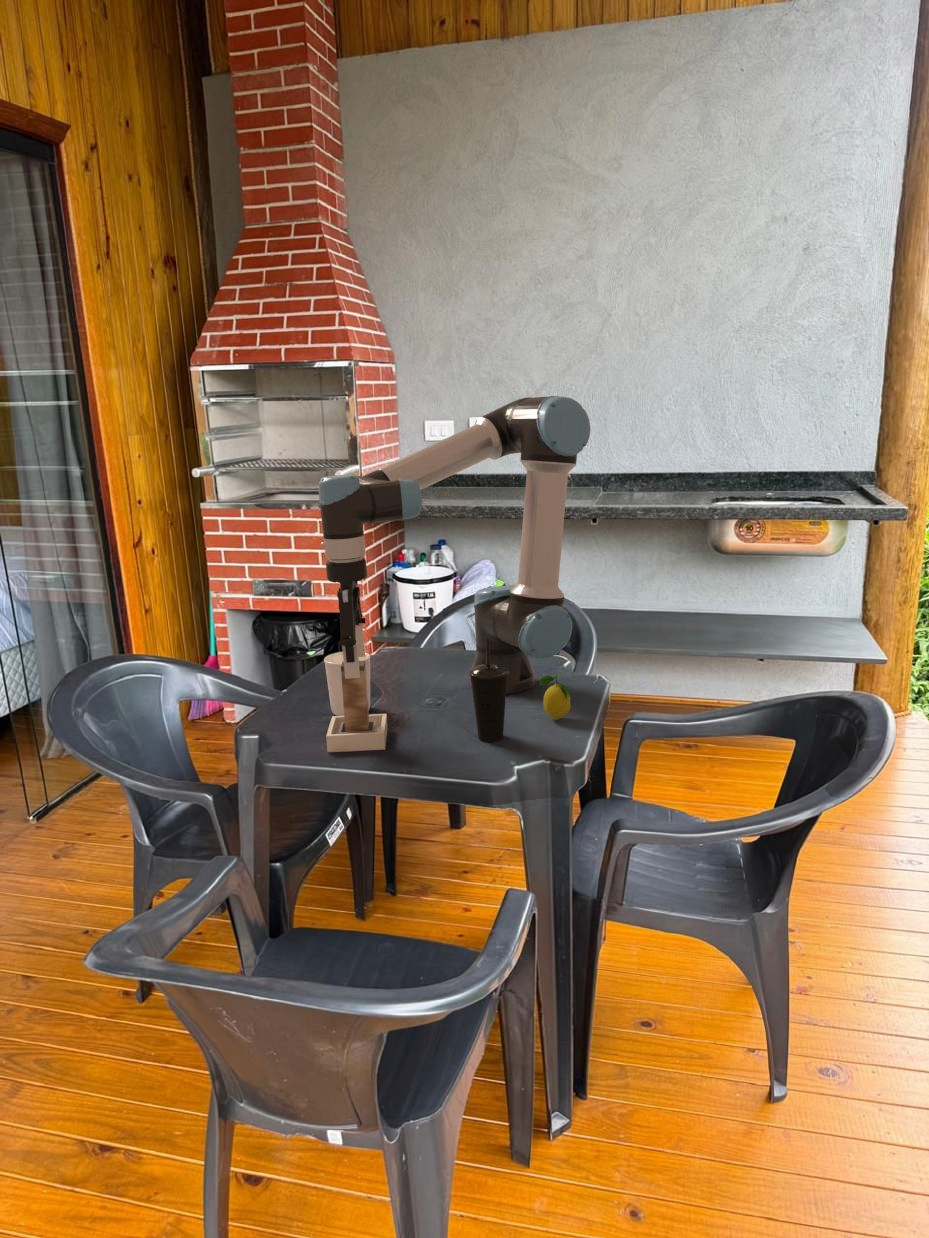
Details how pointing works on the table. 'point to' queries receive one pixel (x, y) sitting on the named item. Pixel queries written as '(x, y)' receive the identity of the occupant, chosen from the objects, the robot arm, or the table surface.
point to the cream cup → (335, 680)
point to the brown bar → (355, 700)
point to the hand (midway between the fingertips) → (355, 666)
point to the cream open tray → (357, 735)
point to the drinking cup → (489, 698)
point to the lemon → (555, 698)
